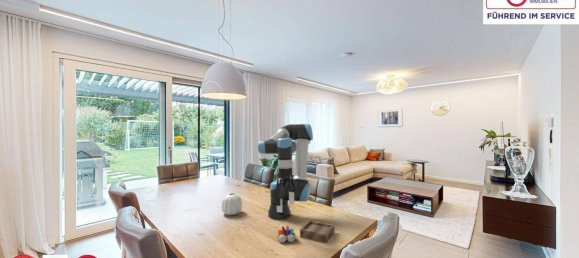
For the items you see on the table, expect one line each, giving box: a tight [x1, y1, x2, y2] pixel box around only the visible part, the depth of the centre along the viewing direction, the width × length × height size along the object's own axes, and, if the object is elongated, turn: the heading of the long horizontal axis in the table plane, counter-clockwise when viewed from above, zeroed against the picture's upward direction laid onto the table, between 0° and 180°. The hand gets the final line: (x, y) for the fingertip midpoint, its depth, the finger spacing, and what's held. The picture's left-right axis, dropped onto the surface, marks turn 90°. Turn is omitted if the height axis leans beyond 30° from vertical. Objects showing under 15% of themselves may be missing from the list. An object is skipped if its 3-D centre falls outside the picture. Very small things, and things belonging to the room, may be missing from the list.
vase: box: [221, 192, 243, 216], centre depth 163 cm, size 14×14×13 cm
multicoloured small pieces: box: [276, 225, 296, 243], centre depth 124 cm, size 8×10×7 cm
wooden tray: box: [299, 220, 335, 243], centre depth 128 cm, size 15×13×4 cm
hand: (285, 207), depth 124 cm, fingers open, 13 cm apart
